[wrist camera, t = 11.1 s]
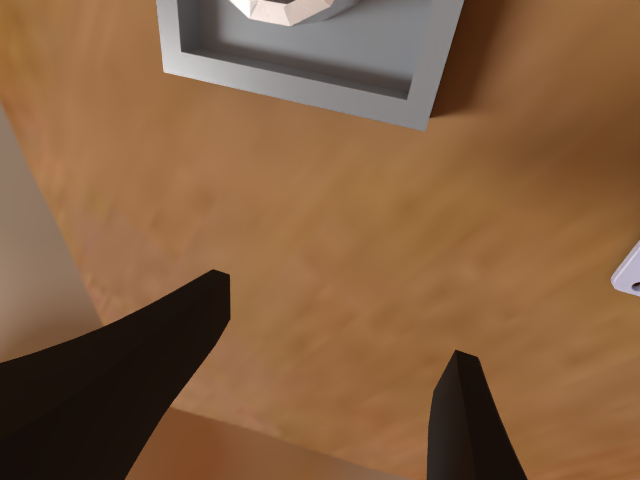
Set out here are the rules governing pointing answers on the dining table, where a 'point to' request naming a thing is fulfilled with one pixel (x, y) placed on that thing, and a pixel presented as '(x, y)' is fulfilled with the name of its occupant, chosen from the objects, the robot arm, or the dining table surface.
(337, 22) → the tray
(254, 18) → the ring
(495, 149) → the dining table surface
